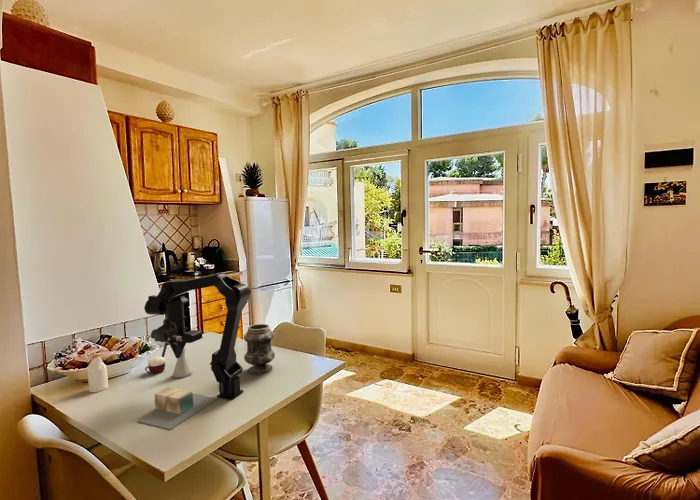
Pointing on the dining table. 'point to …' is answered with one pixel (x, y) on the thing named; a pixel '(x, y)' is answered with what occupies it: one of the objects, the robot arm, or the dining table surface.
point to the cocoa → (157, 363)
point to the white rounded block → (97, 375)
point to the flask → (182, 367)
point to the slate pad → (173, 419)
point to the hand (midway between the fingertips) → (178, 357)
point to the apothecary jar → (259, 348)
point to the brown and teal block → (174, 400)
